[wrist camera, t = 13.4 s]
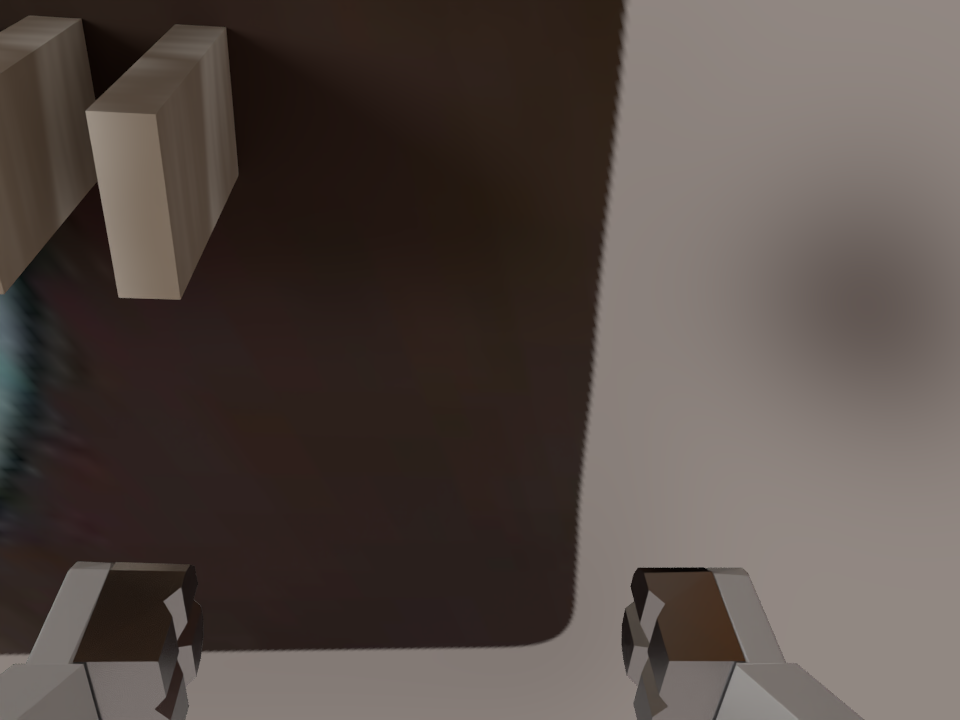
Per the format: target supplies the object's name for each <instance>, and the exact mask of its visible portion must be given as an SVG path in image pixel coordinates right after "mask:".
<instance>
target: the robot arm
mask: <svg viewBox="0 0 960 720" xmlns="http://www.w3.org/2000/svg"><path fill="white" fill-rule="evenodd" d="M197 585H198V581H197V576H196V571H195V566H192V565H185V564H154V563H124V562H116V563H106V562H76V563H75V565H74V566H73V567H72V568H71V569H70V570H69V571H68V573H67V575H66V577H65V579H64V581H63V583H62V586H61V588H60V590H59V592H58V594H57V597H56V599H55V601H54V603H53V605H52V608H51V610H50V612H49V614H48V616H47V619H46V621H45V623H44V625H43V627H42V629H41V632H40V634H39V636H38V638H37V640H36V643H35V645H34V647H33V649H32V651H31V654H30V656H29V658H28V660H27V662H26V664H13V665H12V666H11V667H9V668H8V669H7V670H6V671H4V672H3V673H2V674H0V720H185V718H186V715H187V711H188V707H189V705H188V699H187V693H186V686H187V685H188V684H189V683H190V682H191V681H192V680H193V679H194V678H195V677H196V676H197V671H198V667H199V663H200V659H201V652H202V644H203V614H202V606H200V605H199V604H198V603H197V602H196V601H195V600H194V596H195V593H196V589H197ZM631 590H632V594H633V597H634V602H633V603H631V604H630V605H629V606H628V607H626V608H625V613H624V618H623V623H622V652H623V660H624V665H625V669H626V674H627V676H628V677H629V678H630V679H631V680H632V681H633V682H634V683H635V684H636V685H637V686H638V688H637V692H636V696H635V700H634V708H635V712H636V717H637V720H864V719H863V718H861V717H860V716H859V715H858V714H857V713H856V712H854V711H853V710H852V709H851V708H850V707H848V706H847V705H846V704H845V703H843V702H842V701H841V700H840V699H839V698H838V697H836V696H835V695H834V694H833V693H832V692H830V691H829V690H828V689H827V688H826V687H824V686H823V685H822V684H821V683H820V682H818V681H817V680H816V679H815V678H813V677H812V676H811V675H810V674H809V673H808V672H806V671H805V670H804V669H803V668H801V667H800V666H799V665H798V664H796V663H786V661H785V659H784V657H783V654H782V652H781V650H780V648H779V645H778V643H777V640H776V638H775V635H774V633H773V631H772V628H771V626H770V624H769V621H768V619H767V617H766V614H765V612H764V610H763V607H762V605H761V603H760V600H759V598H758V596H757V593H756V591H755V589H754V586H753V584H752V581H751V579H750V577H749V574H748V573H747V572H746V571H745V570H744V569H743V568H703V567H699V568H638V569H637V570H636V571H635V573H634V575H633V579H632V583H631Z"/></svg>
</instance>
